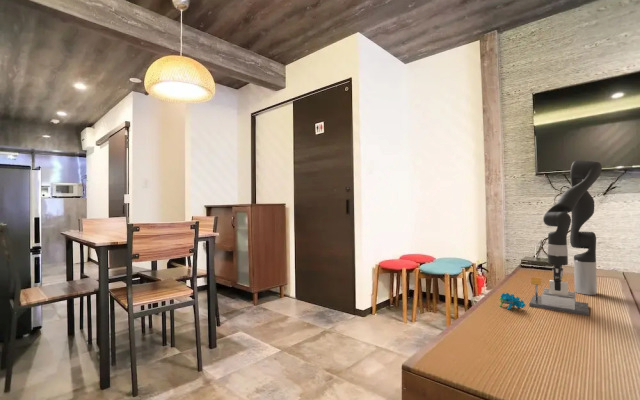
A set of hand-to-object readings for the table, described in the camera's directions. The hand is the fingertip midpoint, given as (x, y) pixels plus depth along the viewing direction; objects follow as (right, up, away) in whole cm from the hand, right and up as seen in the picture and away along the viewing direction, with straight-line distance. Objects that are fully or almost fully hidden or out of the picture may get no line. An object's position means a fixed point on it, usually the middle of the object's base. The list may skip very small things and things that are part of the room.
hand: (558, 288), depth 148 cm
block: (0, -7, 0) cm, 7 cm away
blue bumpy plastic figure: (-24, -9, -3) cm, 25 cm away
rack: (0, -8, 0) cm, 8 cm away
